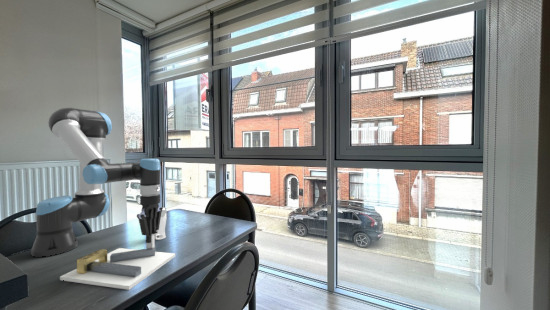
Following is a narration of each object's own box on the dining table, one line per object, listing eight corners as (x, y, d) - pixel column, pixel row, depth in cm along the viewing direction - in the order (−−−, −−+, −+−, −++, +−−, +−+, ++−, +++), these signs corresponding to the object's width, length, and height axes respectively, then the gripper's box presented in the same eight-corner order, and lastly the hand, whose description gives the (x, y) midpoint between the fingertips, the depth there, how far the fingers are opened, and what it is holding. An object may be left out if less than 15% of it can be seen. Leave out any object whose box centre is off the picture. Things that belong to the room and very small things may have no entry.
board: (60, 280, 80) (59, 276, 79) (119, 250, 103) (119, 248, 103) (129, 289, 74) (129, 286, 74) (175, 256, 98) (175, 253, 98)
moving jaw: (110, 262, 89) (110, 256, 89) (111, 259, 92) (111, 253, 92) (154, 255, 96) (154, 249, 96) (155, 252, 98) (155, 247, 98)
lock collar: (77, 272, 82) (76, 259, 82) (101, 260, 91) (100, 248, 91) (83, 273, 81) (83, 260, 81) (107, 261, 90) (107, 249, 90)
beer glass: (163, 234, 123) (162, 206, 123) (169, 237, 119) (169, 208, 119) (149, 238, 118) (149, 209, 118) (155, 241, 113) (155, 211, 113)
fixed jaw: (78, 270, 84) (78, 263, 84) (85, 266, 86) (85, 260, 86) (135, 277, 79) (135, 270, 79) (141, 273, 82) (141, 266, 82)
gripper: (146, 198, 91) (147, 256, 92) (168, 192, 104) (168, 243, 104) (130, 197, 93) (131, 255, 93) (153, 191, 105) (153, 242, 106)
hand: (150, 249), depth 99 cm, fingers closed
